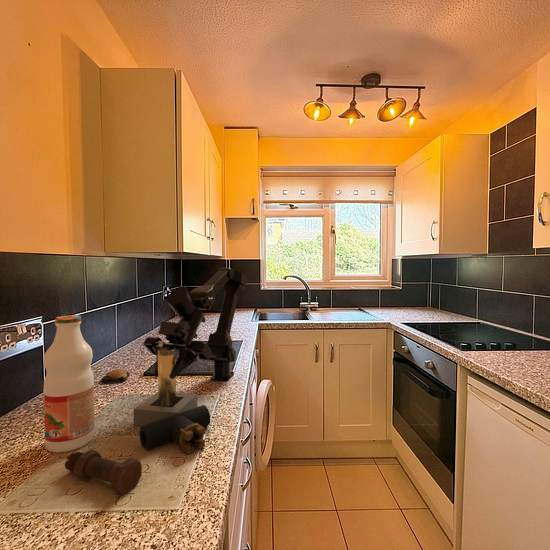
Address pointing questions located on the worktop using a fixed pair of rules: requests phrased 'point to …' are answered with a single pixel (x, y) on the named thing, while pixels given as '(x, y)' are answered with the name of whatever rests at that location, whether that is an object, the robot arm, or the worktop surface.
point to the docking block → (162, 408)
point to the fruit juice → (68, 388)
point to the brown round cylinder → (166, 376)
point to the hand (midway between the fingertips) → (163, 377)
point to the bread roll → (115, 377)
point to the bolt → (106, 470)
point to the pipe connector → (177, 430)
